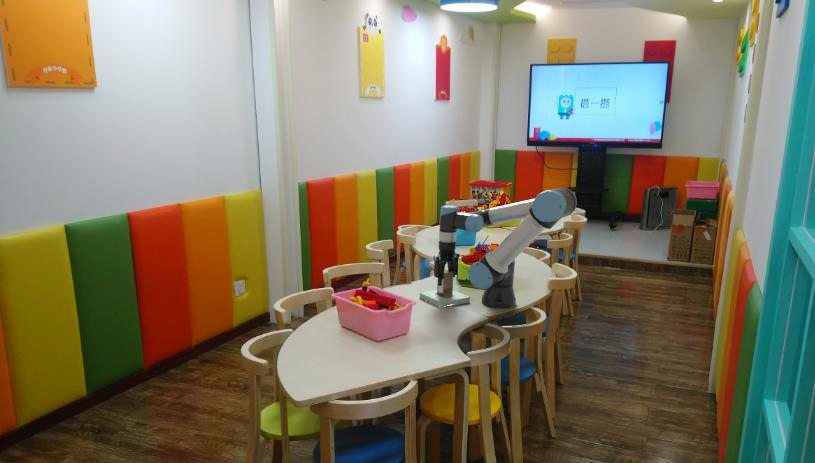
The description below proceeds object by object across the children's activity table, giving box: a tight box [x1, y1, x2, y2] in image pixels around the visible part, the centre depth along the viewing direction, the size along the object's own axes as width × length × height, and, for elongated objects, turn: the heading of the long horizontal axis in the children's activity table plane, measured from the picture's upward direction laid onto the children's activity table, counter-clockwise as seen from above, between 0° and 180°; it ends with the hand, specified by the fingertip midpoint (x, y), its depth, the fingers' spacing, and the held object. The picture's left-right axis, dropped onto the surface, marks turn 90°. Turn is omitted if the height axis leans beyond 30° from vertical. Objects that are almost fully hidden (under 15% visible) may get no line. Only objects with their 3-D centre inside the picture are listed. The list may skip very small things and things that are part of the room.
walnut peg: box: [436, 268, 454, 298], centre depth 258 cm, size 6×4×13 cm, turn 35°
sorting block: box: [419, 289, 471, 308], centre depth 259 cm, size 16×16×2 cm
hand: (444, 291), depth 258 cm, fingers closed on walnut peg, 4 cm apart
